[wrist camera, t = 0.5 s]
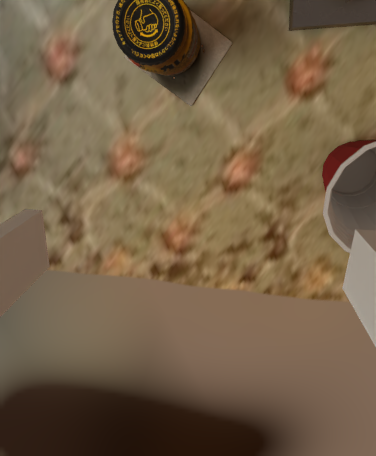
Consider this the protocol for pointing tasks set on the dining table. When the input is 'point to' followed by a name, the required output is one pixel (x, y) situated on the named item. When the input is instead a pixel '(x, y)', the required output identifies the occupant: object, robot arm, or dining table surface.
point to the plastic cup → (350, 191)
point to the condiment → (169, 44)
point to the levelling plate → (331, 13)
